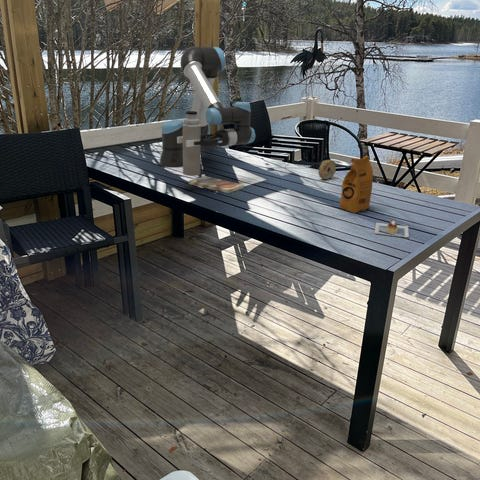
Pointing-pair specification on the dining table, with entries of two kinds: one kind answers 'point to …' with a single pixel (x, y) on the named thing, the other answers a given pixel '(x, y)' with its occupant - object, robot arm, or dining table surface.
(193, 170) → the thermos bottle
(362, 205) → the coffee package
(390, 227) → the dessert
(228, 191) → the board
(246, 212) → the dining table surface
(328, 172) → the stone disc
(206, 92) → the robot arm
